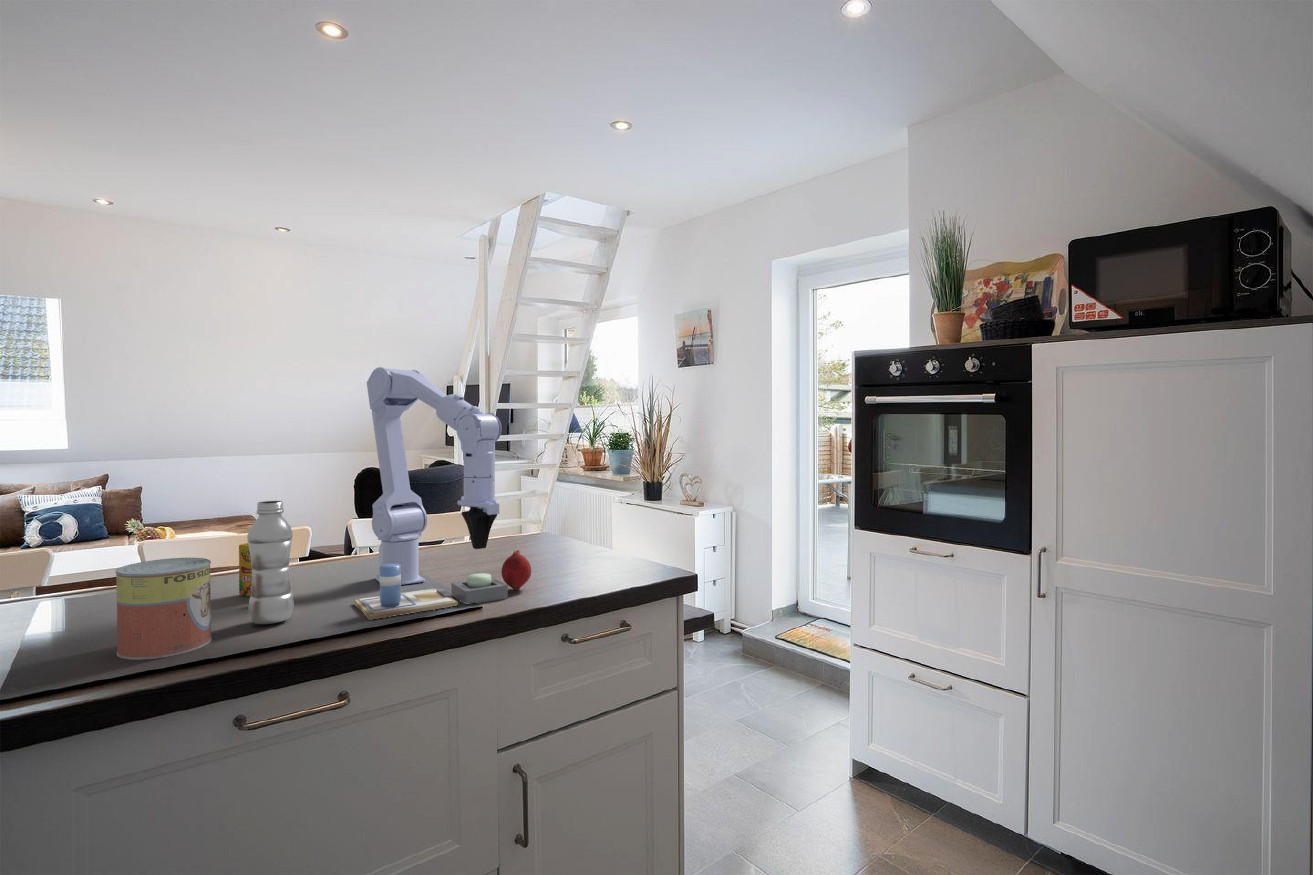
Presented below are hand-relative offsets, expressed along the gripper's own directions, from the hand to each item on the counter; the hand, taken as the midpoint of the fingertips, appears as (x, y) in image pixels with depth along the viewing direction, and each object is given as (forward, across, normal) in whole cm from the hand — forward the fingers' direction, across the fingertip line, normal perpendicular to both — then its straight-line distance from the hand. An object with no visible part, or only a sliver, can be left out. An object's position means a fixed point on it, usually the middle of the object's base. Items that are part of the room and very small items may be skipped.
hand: (479, 548), depth 126 cm
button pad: (+9, 0, 0) cm, 9 cm away
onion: (+10, -1, +8) cm, 13 cm away
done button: (+7, 0, 0) cm, 7 cm away
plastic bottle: (+10, -4, -34) cm, 36 cm away
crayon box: (+10, -24, -34) cm, 43 cm away
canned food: (+10, 0, -48) cm, 49 cm away
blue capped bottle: (+8, 0, -16) cm, 18 cm away
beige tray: (+9, -2, -13) cm, 16 cm away
